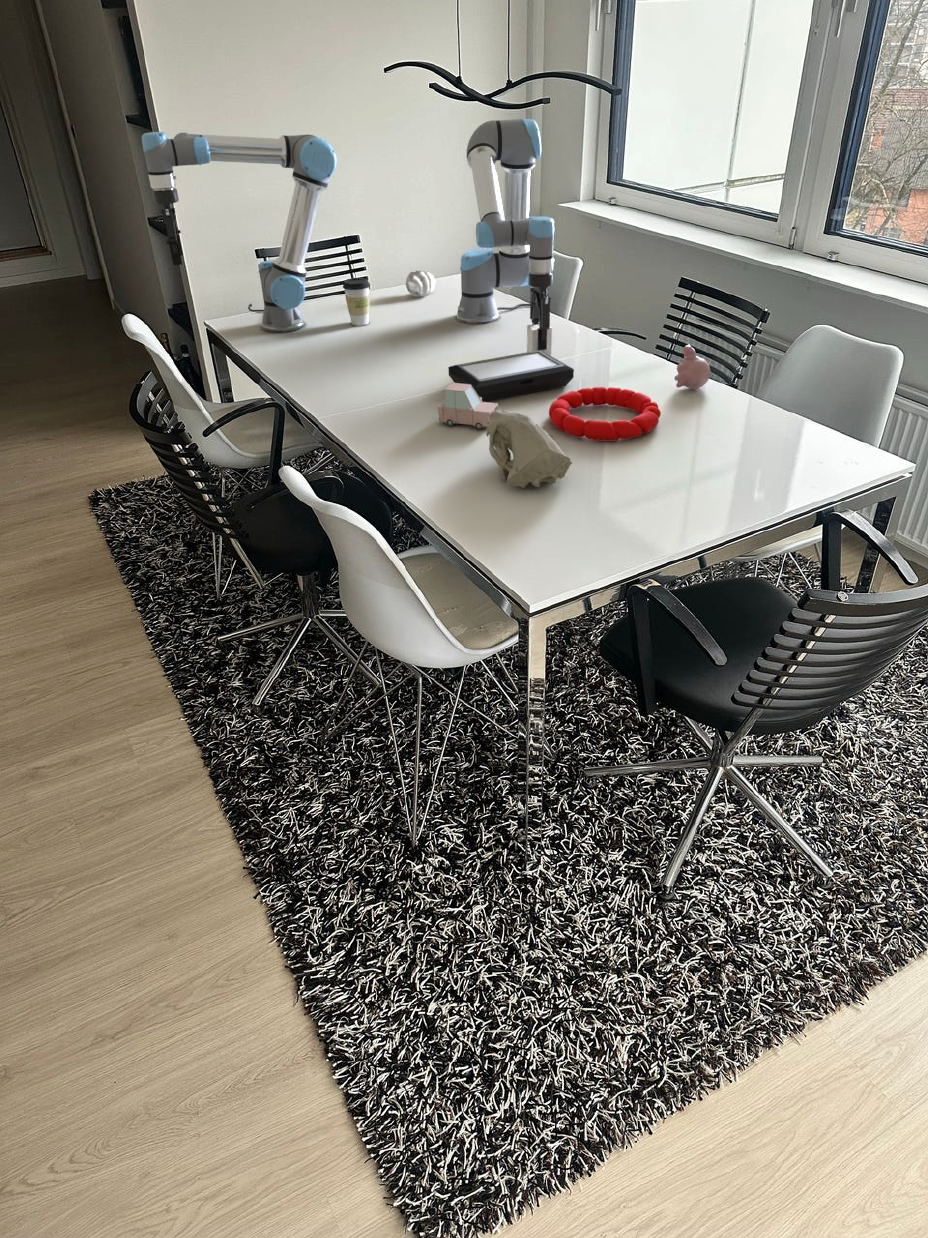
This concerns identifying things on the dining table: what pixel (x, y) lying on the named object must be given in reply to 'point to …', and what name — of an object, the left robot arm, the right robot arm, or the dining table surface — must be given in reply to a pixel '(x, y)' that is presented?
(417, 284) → the seashell
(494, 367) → the electronic device
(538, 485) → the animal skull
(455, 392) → the toy car
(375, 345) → the dining table surface
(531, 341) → the block
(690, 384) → the figurine
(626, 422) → the decorative ring
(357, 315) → the coffee cup
